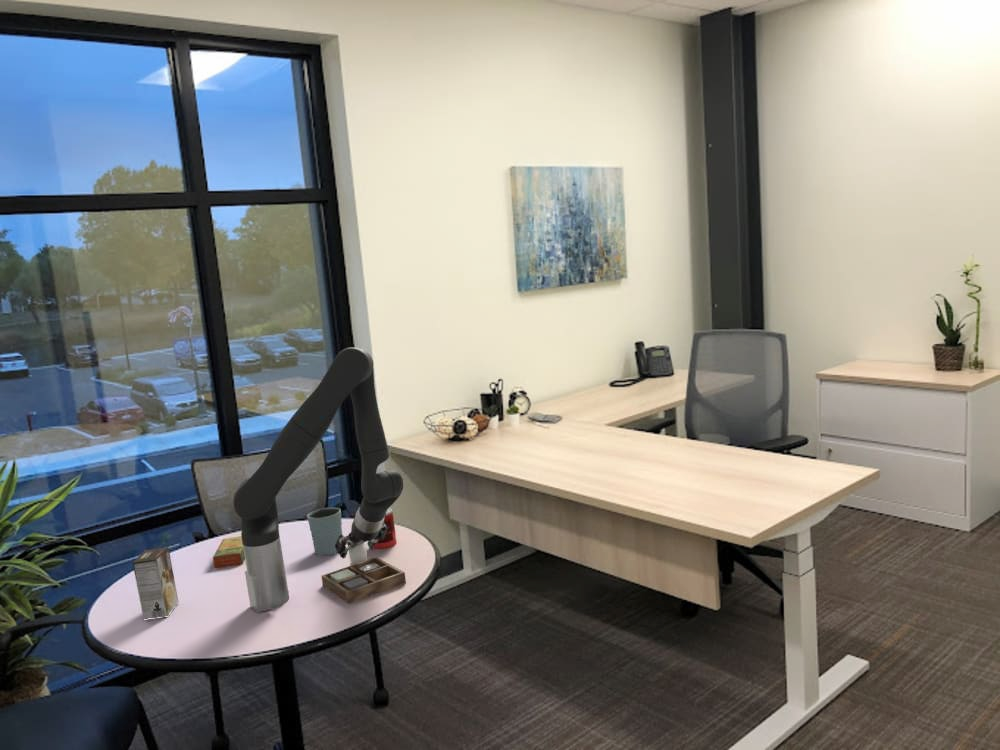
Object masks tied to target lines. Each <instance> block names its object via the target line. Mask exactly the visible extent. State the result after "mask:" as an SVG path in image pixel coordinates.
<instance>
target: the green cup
mask: <svg viewBox="0 0 1000 750" xmlns="http://www.w3.org/2000/svg"><path fill="white" fill-rule="evenodd" d="M341 510H342V509H341V508H338V507H324V508H323V507H322V508H318V509H315V510H313V511H311V512H309V513H308V514H307V515H306V518H307V522H308V525H309V530H310V532H311V533H310V534H311V538H312V543H313V544H312V545H313V550H314V553H315V555H317V556H321V557H325V556H324V555H327V556H331V554H333V555H335V553H336V554H338V553H337V550H336V548H335V544H336V541H337V539H338V537H339V536H340V535H343V527H342V526H343V525H342V524H343V523H342V511H341Z"/></svg>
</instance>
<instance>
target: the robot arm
mask: <svg viewBox="0 0 1000 750" xmlns="http://www.w3.org/2000/svg"><path fill="white" fill-rule="evenodd" d="M374 373H375V372H374V360H373V357H372V355H371V354H370V353H369V352H368V351H367V350H365V349H363V348H361V347H353V346H352V347H351V346H350V347H346V348H343V349H342V350H340V352H338V353H337V355H336V356H335V357H334V359H333V361H332V362H331V364H330V366H329V368H328V369H327V370H326V373H325V374H324V376H323V378H322V379H321V381H320V382H319V384H318V386H317V387H316V389H314V390H313V391H312V392H311V394H309V396H307V398H306V399H305V401H304V402H302V404H301V405H300V407H298V409H297V410H296V411H295V412H294V413H293V415H292V416H291V417H290V419H289V421H288V422H286V424H285V425H284V427H283V428H282V430H281V431H280V432H279V434H278V436H277V438H276V439H275V440H274V442H273V444H272V446H271V447H270V450H269V451H268V453H267V455H266V456H265V458H264V460H263V462H262V463H261V464H260V466H259V467H258V468H257V469H256V471H254V473H253V474H252V475H251V476H250V477H248V478H247V479H245V480H244V481H243V482H241V483H240V485H239V487H238V488H237V490H236V492H235V493H234V496H233V501H232V502H233V503H232V504H233V509H234V512H235V514H236V515H238V517H239V518H240V522H241V533H240V534H241V535H240V536H241V538H242V544H243V549H244V556H245V560H244V562H245V566H246V570H245V571H244V575H245V581H246V587H247V592H248V599H249V605H250V607H251V608H252V609H253V610H254V611H255V610H256V611H255V612H256V613H261V611H262V612H268V611H271V609H275V608H279V607H281V606H284V605H285V604H286V603H288V601H289V600H290V594H289V588H288V582H287V576H286V575H287V574H286V569H285V563H284V562H285V561H284V555H283V549H282V543H281V538H280V537H281V535H280V527H279V525H280V522H279V521H280V520H279V513H278V505H277V499H276V498H277V496H278V494H279V492H280V491H281V490H282V488H283V486H284V485H285V483H286V482H287V480H288V479H289V478H290V477H291V476H292V475H293V474H294V472H295V471H296V470H297V469H298V468H299V467H300V466H301V465H302V464H303V463H304V461H305V460H306V459H308V457H309V456H310V454H311V453H312V452H313V451H314V450H315V449H316V447H317V446H318V445H319V443H320V442H321V440H322V439H323V438H324V436H325V435H326V433H327V432H328V430H329V428H330V426H331V424H332V422H333V420H334V419H335V416H336V415H337V412H338V410H339V409H340V407H341V405H342V404H343V402H344V401H345V400H346V399H347V398H348V396H349V395H350V398H351V402H352V407H353V415H354V425H355V426H354V429H355V435H356V439H357V440H356V441H357V445H358V449H359V453H360V457H361V485H360V487H361V488H360V489H361V494H362V496H363V498H362V500H361V503H360V506H359V507H358V509H357V510H356V513H355V515H354V517H353V521H352V523H351V529H350V532H349V533H348V535H345V536H344V534H342V535H340V536H339V537H338V539H337V541H336V544H335V548H336V550H337V553H336V554H338V555H339V556H340V558H342V559H346V557H347V555H348V552H349V550H350V549H354V548H355V547H356V546H357V545H358V544H361V543H362V542H365V543H366V542H367V546H368V548H369V550H374V548H373V547H374V546H375V544H376V542H378V540H379V539H381V540H383V539H384V538H385V535H386V532H387V530H388V529H387V527H386V525H385V523H384V522H383V521H384V517H385V514H386V512H387V509H388V508H391V507H392V506H393V505H394V503H396V501H397V500H398V499H399V498H400V496H401V495H402V494H403V493H402V492H403V489H404V478H403V477H402V475H401V473H400V472H399V471H397V470H395V469H388V470H384V471H381V472H378V471H377V470H378V467H379V466H380V465H381V464H383V463H384V462H386V461H388V459H389V458H390V452H389V448H388V442H387V438H386V433H385V430H384V426H383V423H382V418H381V415H380V410H379V406H378V401H377V394H376V393H377V392H376V387H375V386H376V385H375V374H374ZM351 542H353V543H354V544H353V545H352V543H351ZM346 545H347V546H346Z"/></svg>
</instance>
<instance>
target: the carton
mask: <svg viewBox="0 0 1000 750" xmlns="http://www.w3.org/2000/svg"><path fill="white" fill-rule="evenodd" d="M212 558H213V567H214V568H217V569H222V567H223V568H228V566H229V567H236V566H240V565H243V564H244V562H245V556H244V549H243V544H242V538H241V535H240V536H233V537H227V538H223V539H222V540H221V542H220V543H219V546H218V547H217V549H216V551H215V553H214V554H213V556H212Z"/></svg>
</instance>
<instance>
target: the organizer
mask: <svg viewBox="0 0 1000 750" xmlns="http://www.w3.org/2000/svg"><path fill="white" fill-rule="evenodd" d="M373 563H376V564H378V565H380V566H381V567H380V568H377V569H374V570H371V571H368V572H365V573H362V572H361V571H359V569H358V568H361V567H364V566H367V565H370V564H373ZM346 569H348V570H350V571H351V572H353V573H355V574H356V576H354V577H351V578H348V579H345V580H342V581H339V582H334V581H333V580H331V577H330V575H331V574H334V573H337V572H340V571H343V570H346ZM320 576H321V582H322V587H323V588H325V589H327V591H329V592H331V593H333V595H335V596H336V597H338V598H340V599H341V600H343V602H346V604H352V603H355V602H358V601H361V600H363V599H366V598H370V597H371V596H374V595H377V594H379V593H380V594H381V593H383V592H385V591H389V590H390V589H393V588H397V587H399V586H402V585H405V584H406V583H407V579H406V573H405V571H403V570H401V569H399V568H397V567H396V566H394V565H392V564H390V563H388V562H386V561H384V560H383V559H381V558H379V557H372V558H369V559H368V560H366V561H363V562H360V563H357V564H354V565H351V564H350V565H348V566H346V567H343V568H340V569H337V570H335V571H331V572H328V573H325V574H322V575H320ZM360 577H361V578H363V579H365V580H366V581H368V584H367V585H364V586H361V587H358V588H355V589H353V590H350V591H348V590H347V589H345V588H344V585H343V583H346V582H349V581H351V580H354V579H357V578H360Z"/></svg>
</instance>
